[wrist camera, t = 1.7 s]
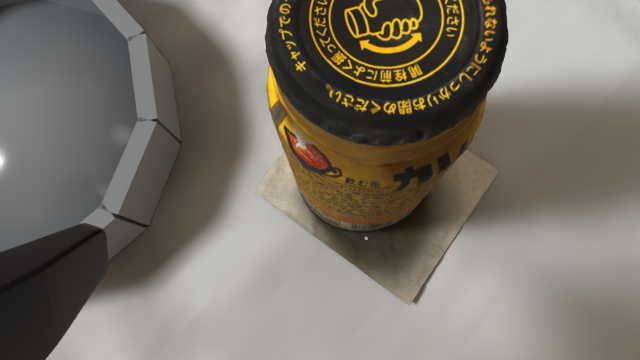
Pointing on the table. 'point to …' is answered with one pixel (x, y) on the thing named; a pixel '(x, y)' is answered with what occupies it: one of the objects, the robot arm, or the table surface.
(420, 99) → the condiment
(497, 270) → the table surface
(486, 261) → the table surface
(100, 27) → the round grey tray
